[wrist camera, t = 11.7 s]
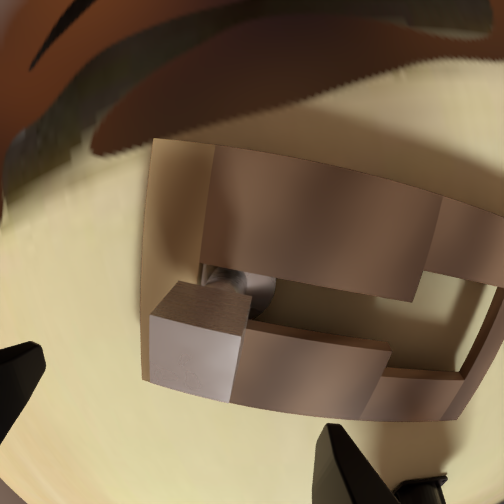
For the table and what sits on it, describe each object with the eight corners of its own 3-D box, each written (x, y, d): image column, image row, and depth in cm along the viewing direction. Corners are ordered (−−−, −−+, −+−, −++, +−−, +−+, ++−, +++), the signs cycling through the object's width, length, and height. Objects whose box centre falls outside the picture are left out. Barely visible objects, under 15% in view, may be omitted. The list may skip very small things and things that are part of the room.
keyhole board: (514, 222, 15) (541, 233, 12) (443, 395, 19) (456, 419, 16) (175, 141, 16) (153, 138, 13) (158, 353, 20) (142, 379, 17)
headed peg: (284, 241, 17) (280, 314, 9) (267, 320, 19) (251, 425, 10) (195, 224, 17) (122, 279, 9) (187, 303, 19) (128, 392, 11)
